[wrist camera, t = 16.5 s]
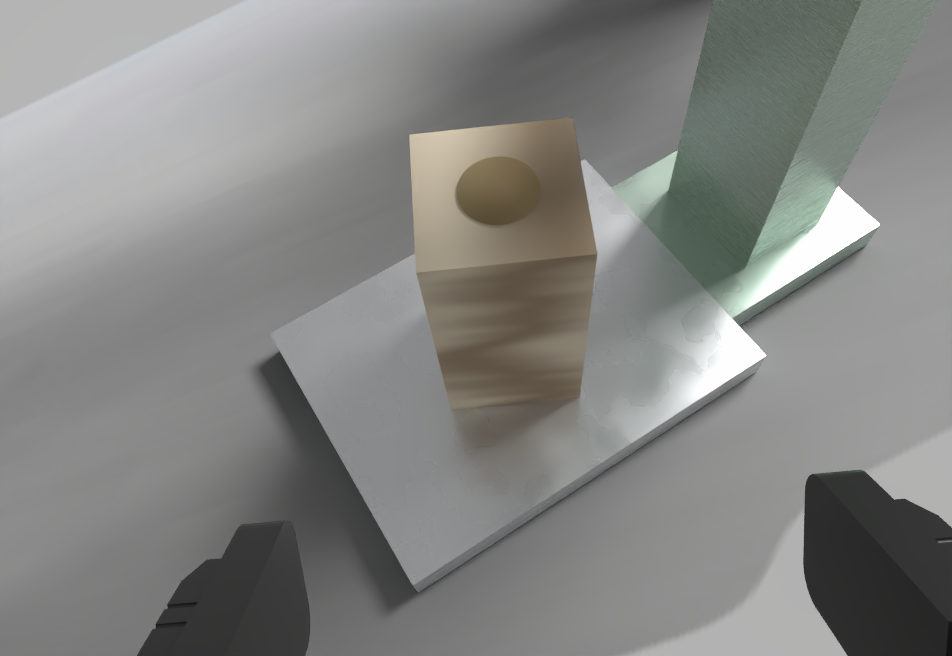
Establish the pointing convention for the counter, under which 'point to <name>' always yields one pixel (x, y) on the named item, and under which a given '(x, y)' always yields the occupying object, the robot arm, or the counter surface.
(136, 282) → the counter surface
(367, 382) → the press
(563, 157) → the block
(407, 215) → the counter surface
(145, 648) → the robot arm
